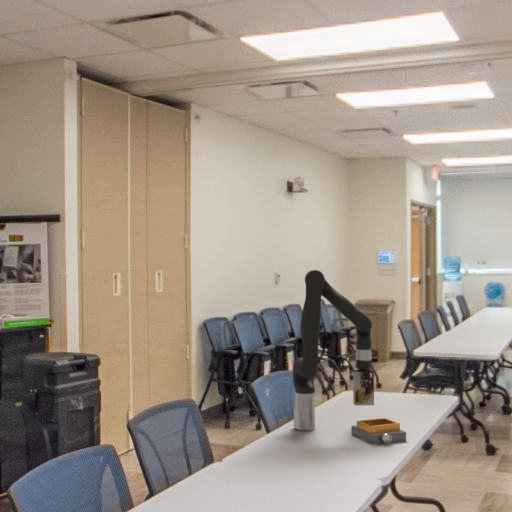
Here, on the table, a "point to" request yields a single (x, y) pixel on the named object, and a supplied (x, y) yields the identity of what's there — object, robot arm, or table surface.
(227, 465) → the table surface
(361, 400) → the coffee box
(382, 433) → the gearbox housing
